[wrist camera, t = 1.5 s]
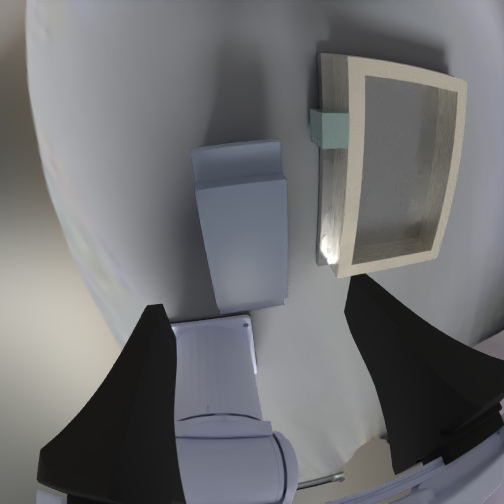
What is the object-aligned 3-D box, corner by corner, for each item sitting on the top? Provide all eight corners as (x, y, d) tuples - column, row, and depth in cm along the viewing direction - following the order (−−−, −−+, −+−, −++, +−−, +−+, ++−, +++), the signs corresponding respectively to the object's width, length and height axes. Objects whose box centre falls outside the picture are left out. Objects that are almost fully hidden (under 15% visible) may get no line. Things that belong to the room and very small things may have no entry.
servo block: (270, 262, 22) (287, 315, 17) (217, 269, 21) (221, 325, 17) (263, 125, 16) (285, 146, 11) (195, 133, 16) (189, 157, 11)
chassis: (425, 243, 23) (441, 259, 21) (306, 262, 22) (316, 284, 20) (449, 75, 14) (473, 80, 12) (303, 53, 14) (319, 49, 11)
